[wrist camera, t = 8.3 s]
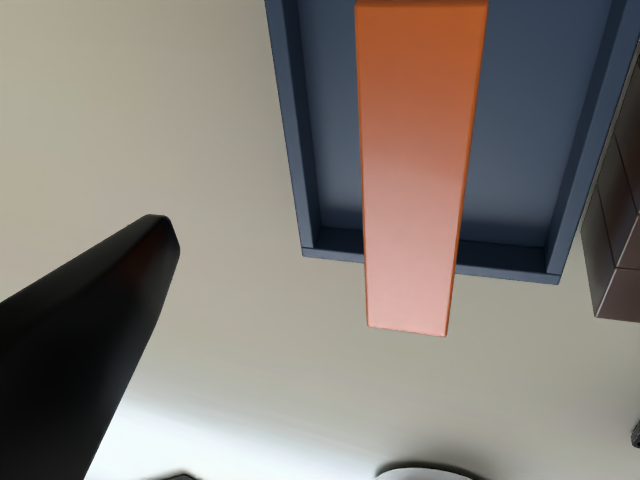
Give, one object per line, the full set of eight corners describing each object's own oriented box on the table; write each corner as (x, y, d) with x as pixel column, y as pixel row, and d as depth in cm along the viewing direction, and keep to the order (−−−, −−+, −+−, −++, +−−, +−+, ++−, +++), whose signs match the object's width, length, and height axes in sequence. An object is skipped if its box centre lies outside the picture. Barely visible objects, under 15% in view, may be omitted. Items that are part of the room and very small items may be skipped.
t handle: (463, 140, 19) (446, 338, 13) (408, 137, 20) (366, 327, 14) (493, -121, 14) (489, 2, 8) (416, -117, 14) (353, 2, 8)
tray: (555, 251, 22) (558, 286, 21) (313, 227, 25) (302, 257, 23) (781, -502, 10) (829, -542, 8) (235, -399, 12) (200, -417, 11)
